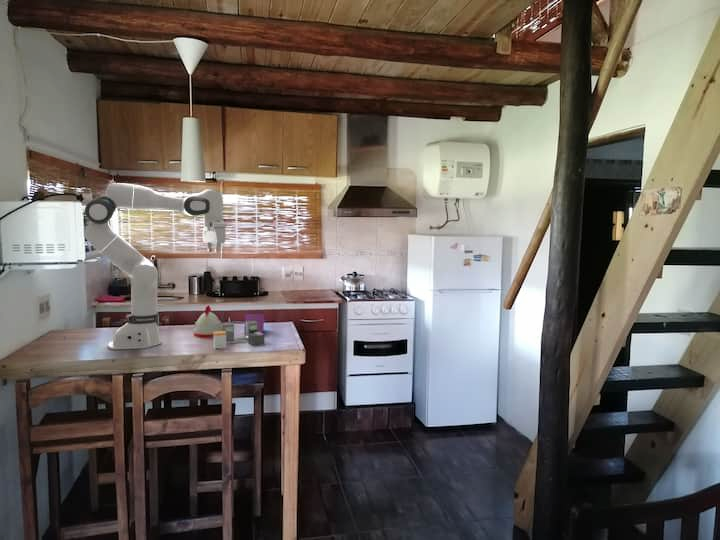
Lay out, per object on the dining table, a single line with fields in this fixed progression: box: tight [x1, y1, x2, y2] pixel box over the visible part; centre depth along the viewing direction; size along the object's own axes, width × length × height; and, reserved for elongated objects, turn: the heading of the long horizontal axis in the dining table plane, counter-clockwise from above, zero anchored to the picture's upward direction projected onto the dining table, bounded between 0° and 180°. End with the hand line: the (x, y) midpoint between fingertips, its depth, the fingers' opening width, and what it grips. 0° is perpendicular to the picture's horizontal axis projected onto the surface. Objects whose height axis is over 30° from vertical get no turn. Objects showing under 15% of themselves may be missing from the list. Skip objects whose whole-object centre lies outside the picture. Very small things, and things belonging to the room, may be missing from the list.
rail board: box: [221, 321, 258, 345], centre depth 234 cm, size 20×7×9 cm, turn 116°
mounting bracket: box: [243, 313, 265, 336], centre depth 251 cm, size 9×8×18 cm
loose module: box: [213, 331, 227, 350], centre depth 221 cm, size 5×4×7 cm
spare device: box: [247, 332, 265, 347], centre depth 229 cm, size 6×5×5 cm
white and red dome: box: [193, 305, 222, 339], centre depth 246 cm, size 14×14×15 cm
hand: (213, 252), depth 232 cm, fingers open, 8 cm apart
